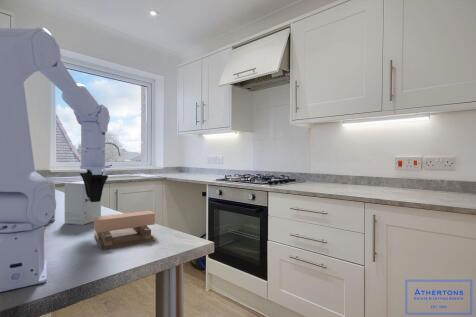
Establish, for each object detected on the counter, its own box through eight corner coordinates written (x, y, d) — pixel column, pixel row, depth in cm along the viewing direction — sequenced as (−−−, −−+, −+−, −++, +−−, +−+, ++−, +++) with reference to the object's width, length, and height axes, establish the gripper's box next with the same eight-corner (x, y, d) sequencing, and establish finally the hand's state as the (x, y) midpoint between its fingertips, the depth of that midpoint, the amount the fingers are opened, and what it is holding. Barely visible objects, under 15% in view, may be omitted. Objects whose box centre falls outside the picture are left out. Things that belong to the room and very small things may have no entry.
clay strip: (96, 233, 63) (96, 220, 63) (93, 228, 67) (93, 217, 66) (154, 224, 71) (154, 213, 71) (150, 221, 75) (150, 210, 75)
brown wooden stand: (153, 240, 67) (154, 228, 67) (101, 250, 60) (101, 237, 60) (140, 228, 77) (141, 218, 77) (94, 236, 70) (94, 224, 70)
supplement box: (83, 225, 80) (83, 183, 80) (63, 223, 82) (63, 182, 81) (101, 219, 87) (101, 181, 87) (83, 217, 89) (83, 180, 89)
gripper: (114, 149, 68) (114, 202, 68) (105, 149, 80) (105, 194, 80) (83, 148, 64) (83, 205, 64) (78, 148, 75) (78, 196, 76)
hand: (93, 199), depth 72 cm, fingers open, 7 cm apart
